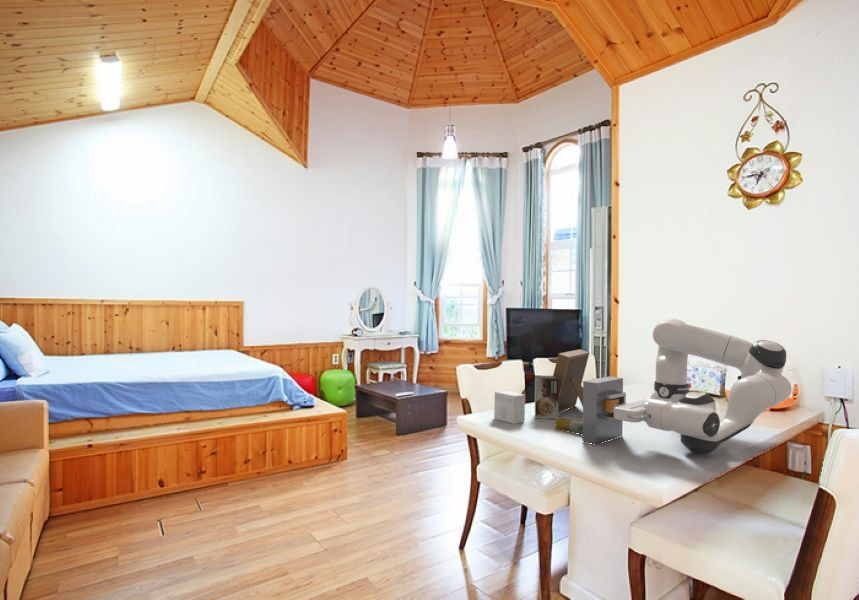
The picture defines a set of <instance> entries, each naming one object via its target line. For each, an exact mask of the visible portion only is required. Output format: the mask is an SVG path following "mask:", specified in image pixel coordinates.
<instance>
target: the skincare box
mask: <svg viewBox="0 0 859 600" xmlns="http://www.w3.org/2000/svg"><path fill="white" fill-rule="evenodd" d="M525 405H526V395H525V394H523V393H518V392H513V391H509V390H508V391H507V390H502V391H501V390H500V391H494V410H493V411H494V413H493V415H494V416H493V419H494V418H495V419H494V420H497V421H498V420H499V421H502V422H505V423H509V424H513V425H515V424H520V423H524V422H526V421H525V416H526V415H525V414H526V412H525V411H526V409H525V408H526V407H525Z"/></svg>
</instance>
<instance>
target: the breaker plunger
mask: <svg viewBox="0 0 859 600" xmlns="http://www.w3.org/2000/svg"><path fill="white" fill-rule="evenodd" d="M617 403H619V399H616V398H614V399H608V398H605V411H606V412H610V413H614V409H613V405H614V404H617Z"/></svg>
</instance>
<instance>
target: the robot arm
mask: <svg viewBox="0 0 859 600" xmlns="http://www.w3.org/2000/svg"><path fill="white" fill-rule="evenodd" d="M652 339H653V341H654V342H655V344H657V345H658V346H657V348H658V349H657V355H656V360H655V380H654V384H653V387H654V388H653V389H654V392H653V393H651V395H650V399H641V400H638V401H635V402H629V403H626V404H623V403H617V404H614V405H613V409H614V418H615V419H617V420H622V421H624V422H628V423H640V422H644V423H646V425H647V426H648V427H649V428H652V429H656V430H661V431H666V432H675V433H677V434H679V435H680V443H681V444H682V445H683V446H684V447H685V448H686V449H687V450H688V451H689V452H691V453H694V454H697V455H698V454H699V455H706V454H709V453H713V451H715V450H717V448H719V447H720V446H721V444H723V443H724V442H727V441H729V439H731V438H733V437H735V436H737V435H739V434H740V433H742V432H744V431H745V430H747V429H748V428H749V427H751V425H752V424H753V423H754V422H755V420H756V419H757V418H758V417H759V416H760V415H761V414H762V413H763V412H764V411H766V410H768V409H771V408H774V407H775V406H778V405H780V404H781V403H784V402H785V401H786V400H788V398H790V397H791V394H792V392H793V391H792V390H793V389H792V384H791V382H790V381H789V379H788V378H786V376H784V375H783V370H784V367H785V365H786V361H787V350H786V349H785V347H783V345H781V344H779V343H778V342H775V341H771V340H765V339H764V340H763V339H762V340H760V339H759V340H756V341H754V342H753V343H752V342H750V341H748V340H746V339H743V338H739V337H737V336H733V335H730V334H726V333H723V332H720V331H715V330H712V329H708V328H704V327H698V326H695V325H691V324H687V323H686V322H685V321H684V320H682V319H678V318H671V319H667V320H662V321H660V322H658V323H657V324H656V325H655V327H654V328H653V330H652ZM689 356H695V357H698V358H701V359H705V360H708V361H711V362H715V363H719V364H722V365H724V366H728V367H732V368H735V369H737V370H739V371H740V373H741V375H738V376H737V380H736V382H734V383H733V384H732V386H731V387H730V390H729V392H728V393H729V394H728V400H727V401H728V402H727V408H726V411H725V414H724V416H723V418H721V419H720V416H719V414H718V413H717V405H716V401H715V399H714V397H712V396H711V395H710V394H708V393H706V392H704V391H697V390H689V389H691V388H692V383H691V382H688V358H689Z"/></svg>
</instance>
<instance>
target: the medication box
mask: <svg viewBox="0 0 859 600" xmlns="http://www.w3.org/2000/svg"><path fill="white" fill-rule="evenodd" d="M557 429H559V431H562V430H564V431H563V432H566V431H569V432H568V433H570V432H574V433H573V434H575V433H579V434H582V435H581V436H583V421H582V422H581V421H577V420H572V419H567V418H560V417H559V418H557V419H555V430H557ZM579 434H578V435H579Z"/></svg>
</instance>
